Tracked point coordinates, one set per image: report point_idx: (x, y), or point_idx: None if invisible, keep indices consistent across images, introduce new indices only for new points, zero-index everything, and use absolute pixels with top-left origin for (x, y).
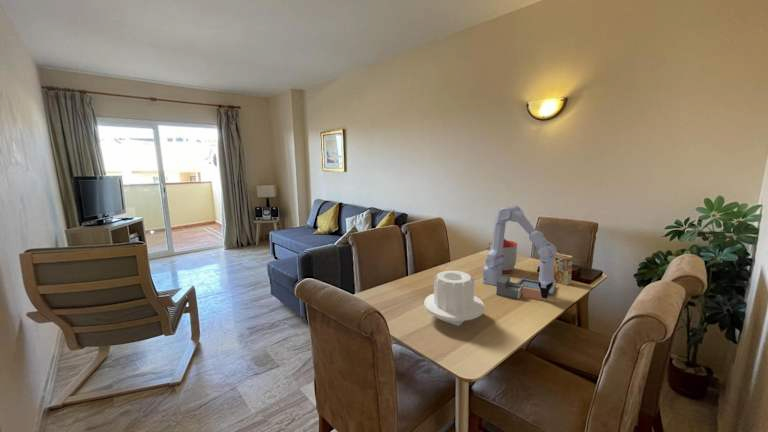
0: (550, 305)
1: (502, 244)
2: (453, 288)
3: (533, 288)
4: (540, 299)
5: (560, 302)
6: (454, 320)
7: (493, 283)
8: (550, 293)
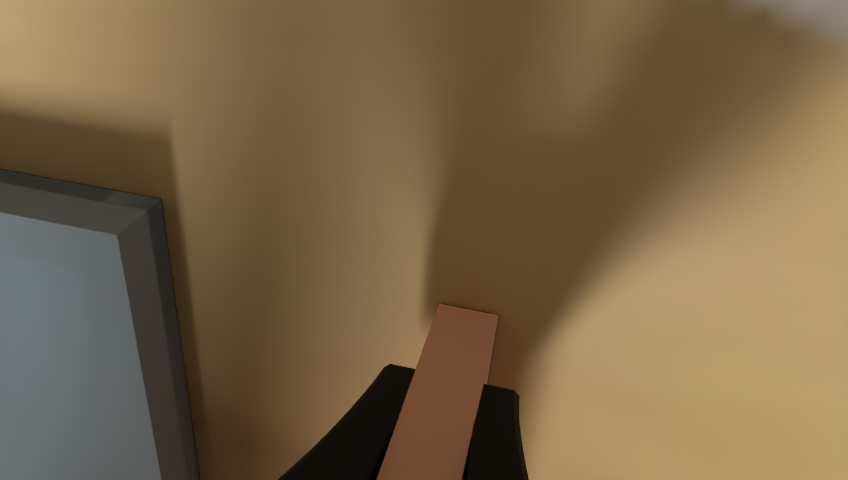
0: (714, 278)
1: None
2: None
3: (51, 473)
4: None
5: (422, 37)
6: None
7: None
8: (128, 267)
